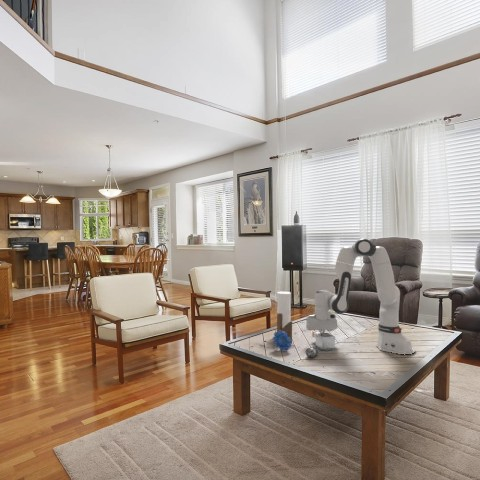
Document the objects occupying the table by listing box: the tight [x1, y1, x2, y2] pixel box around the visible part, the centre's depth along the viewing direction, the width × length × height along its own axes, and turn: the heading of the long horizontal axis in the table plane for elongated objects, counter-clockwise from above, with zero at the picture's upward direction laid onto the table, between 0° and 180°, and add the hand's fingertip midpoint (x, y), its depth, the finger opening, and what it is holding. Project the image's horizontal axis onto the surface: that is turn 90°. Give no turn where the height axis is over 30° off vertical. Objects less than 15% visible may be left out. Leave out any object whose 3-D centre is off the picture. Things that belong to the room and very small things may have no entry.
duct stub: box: [305, 346, 319, 359], centre depth 202 cm, size 6×5×5 cm
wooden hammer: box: [276, 312, 293, 344], centre depth 230 cm, size 4×11×18 cm, turn 48°
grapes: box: [272, 330, 292, 351], centre depth 212 cm, size 12×7×12 cm, turn 66°
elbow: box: [311, 330, 336, 349], centre depth 222 cm, size 18×8×7 cm, turn 15°
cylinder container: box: [276, 291, 292, 333], centre depth 247 cm, size 9×9×30 cm
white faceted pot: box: [316, 332, 335, 352], centre depth 217 cm, size 10×10×9 cm
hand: (321, 336), depth 226 cm, fingers closed
